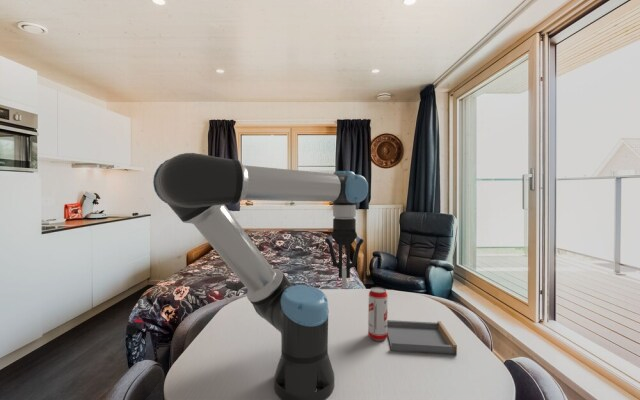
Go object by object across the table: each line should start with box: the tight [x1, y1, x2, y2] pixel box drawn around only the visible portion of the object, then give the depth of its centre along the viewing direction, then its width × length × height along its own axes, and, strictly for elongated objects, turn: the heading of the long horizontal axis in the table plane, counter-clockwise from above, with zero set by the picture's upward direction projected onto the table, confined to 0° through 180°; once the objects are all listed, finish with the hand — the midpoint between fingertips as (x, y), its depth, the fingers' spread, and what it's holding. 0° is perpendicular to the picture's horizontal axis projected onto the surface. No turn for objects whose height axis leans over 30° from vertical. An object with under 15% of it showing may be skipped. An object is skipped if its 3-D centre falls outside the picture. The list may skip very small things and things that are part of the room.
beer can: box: [367, 286, 389, 342], centre depth 96 cm, size 6×6×16 cm
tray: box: [387, 319, 458, 356], centre depth 95 cm, size 16×19×3 cm
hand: (344, 287), depth 97 cm, fingers closed
